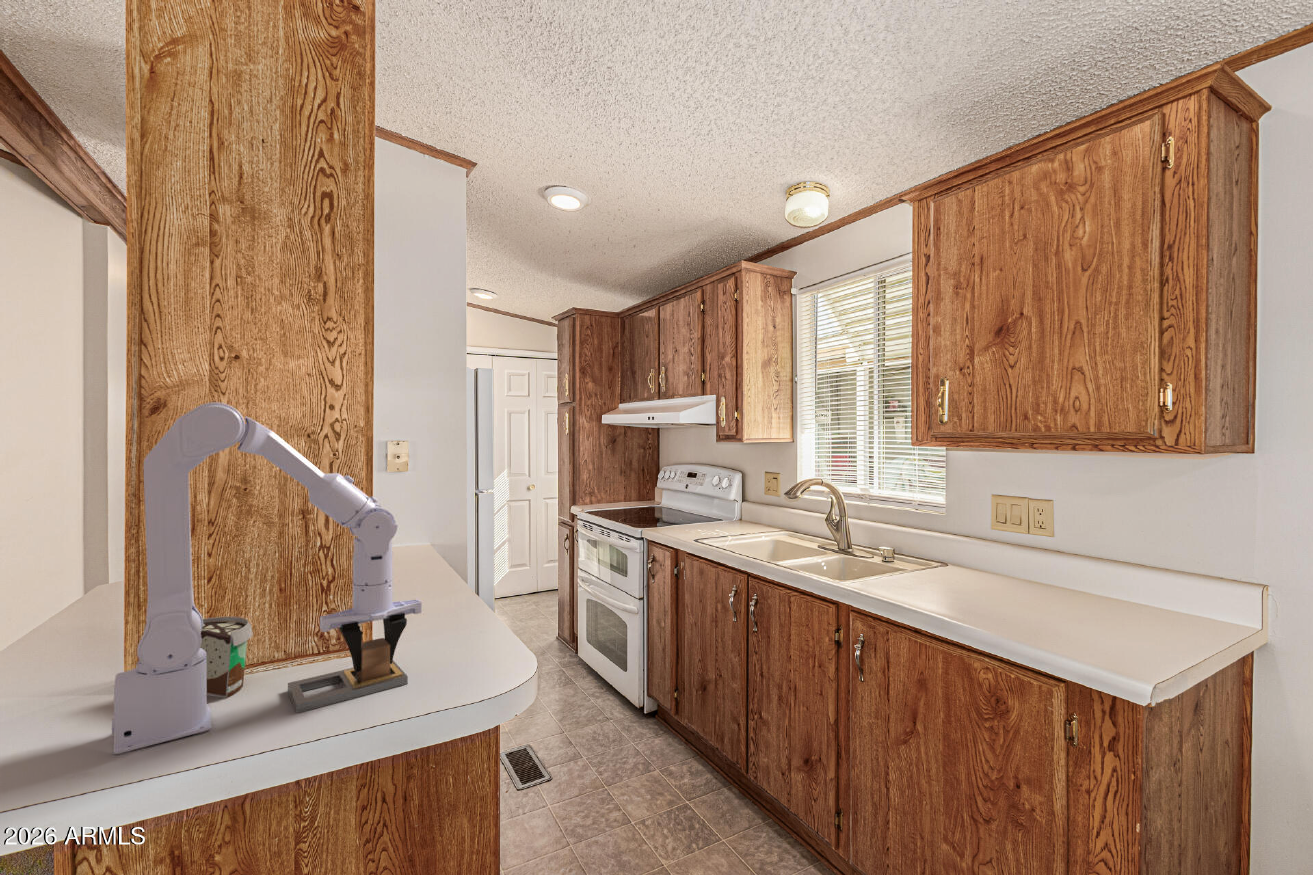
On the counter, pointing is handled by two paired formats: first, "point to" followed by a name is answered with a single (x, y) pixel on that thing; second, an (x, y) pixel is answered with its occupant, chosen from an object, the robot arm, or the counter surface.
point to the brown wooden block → (374, 660)
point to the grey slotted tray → (347, 692)
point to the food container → (225, 653)
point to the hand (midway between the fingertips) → (372, 665)
